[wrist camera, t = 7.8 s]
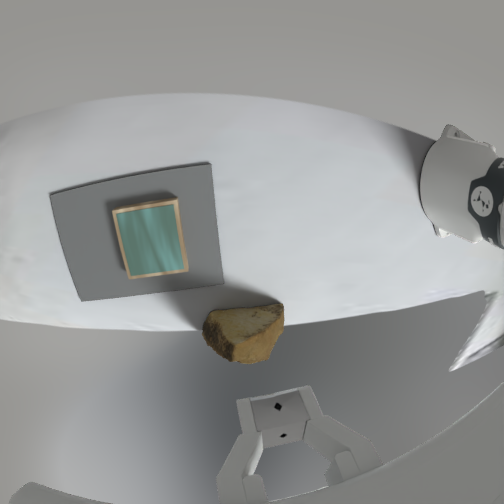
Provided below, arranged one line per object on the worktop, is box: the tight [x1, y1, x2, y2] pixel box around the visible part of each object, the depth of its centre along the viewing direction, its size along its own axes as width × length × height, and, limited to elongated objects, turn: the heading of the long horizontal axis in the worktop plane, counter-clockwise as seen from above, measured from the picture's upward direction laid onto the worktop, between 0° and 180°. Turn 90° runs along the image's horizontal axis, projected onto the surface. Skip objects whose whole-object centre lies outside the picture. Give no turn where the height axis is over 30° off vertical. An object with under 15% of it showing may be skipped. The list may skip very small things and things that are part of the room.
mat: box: [50, 164, 224, 302], centre depth 28 cm, size 19×14×1 cm
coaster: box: [112, 197, 189, 279], centre depth 28 cm, size 2×8×7 cm
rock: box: [202, 304, 284, 364], centre depth 33 cm, size 11×9×10 cm
